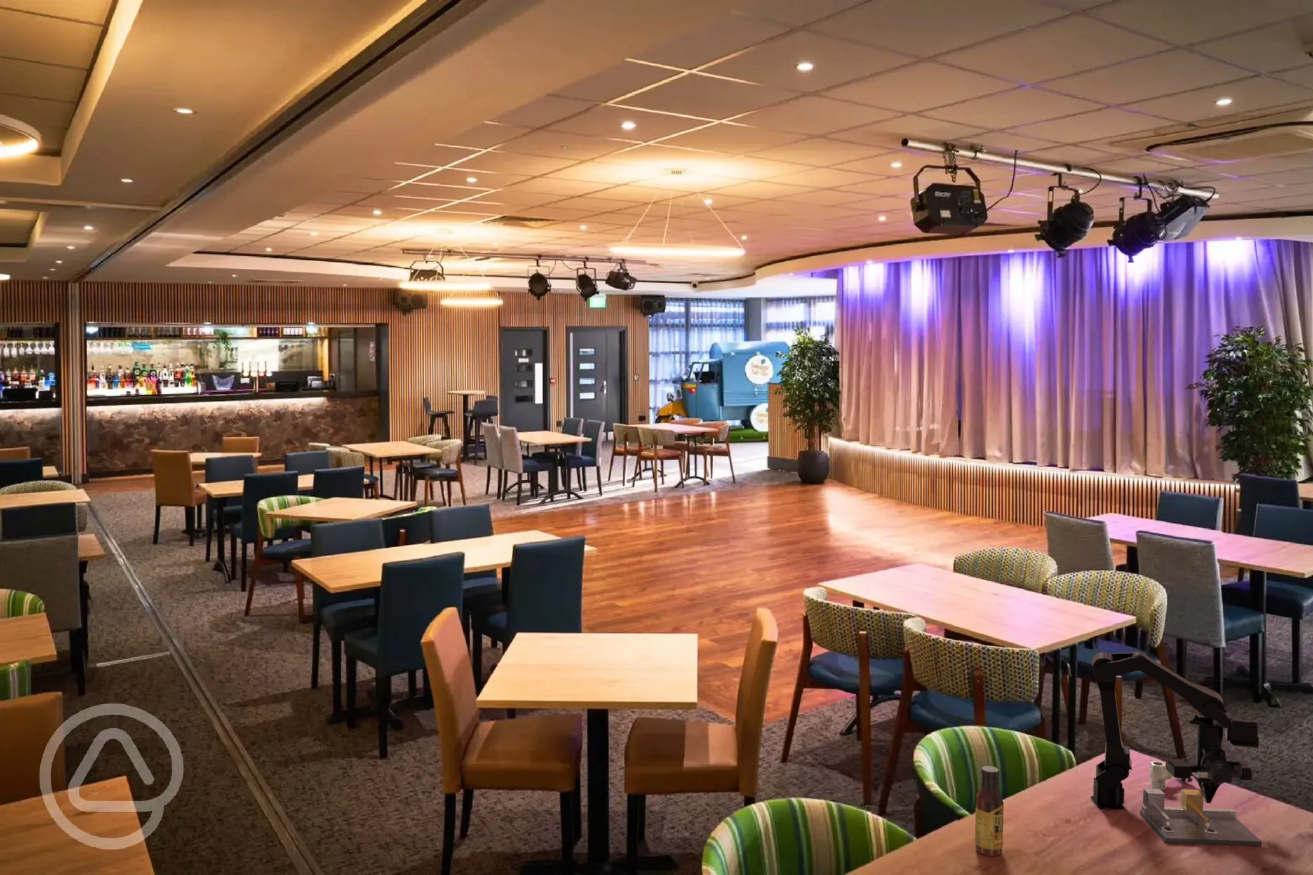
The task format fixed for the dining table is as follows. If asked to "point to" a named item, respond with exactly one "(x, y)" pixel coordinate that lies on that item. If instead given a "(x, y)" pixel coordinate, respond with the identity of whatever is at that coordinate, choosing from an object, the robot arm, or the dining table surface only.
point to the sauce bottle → (989, 814)
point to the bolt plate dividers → (1194, 823)
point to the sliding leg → (1194, 803)
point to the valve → (1161, 775)
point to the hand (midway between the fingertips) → (1207, 802)
